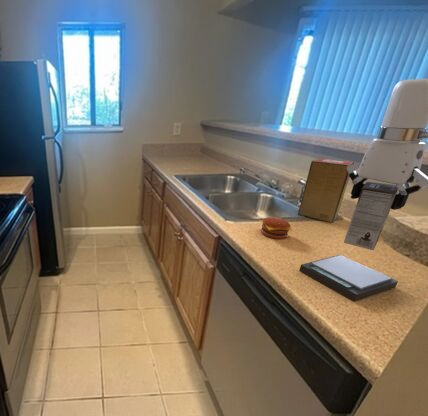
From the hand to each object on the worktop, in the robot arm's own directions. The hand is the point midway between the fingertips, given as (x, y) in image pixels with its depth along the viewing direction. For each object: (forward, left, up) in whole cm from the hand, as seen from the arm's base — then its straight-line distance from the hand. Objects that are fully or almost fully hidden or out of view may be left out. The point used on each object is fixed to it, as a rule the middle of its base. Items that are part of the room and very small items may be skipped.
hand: (374, 202), depth 72 cm
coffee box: (0, 0, -12) cm, 12 cm away
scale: (0, +1, -24) cm, 24 cm away
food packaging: (+36, -39, -24) cm, 58 cm away
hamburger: (+29, -5, -24) cm, 38 cm away
